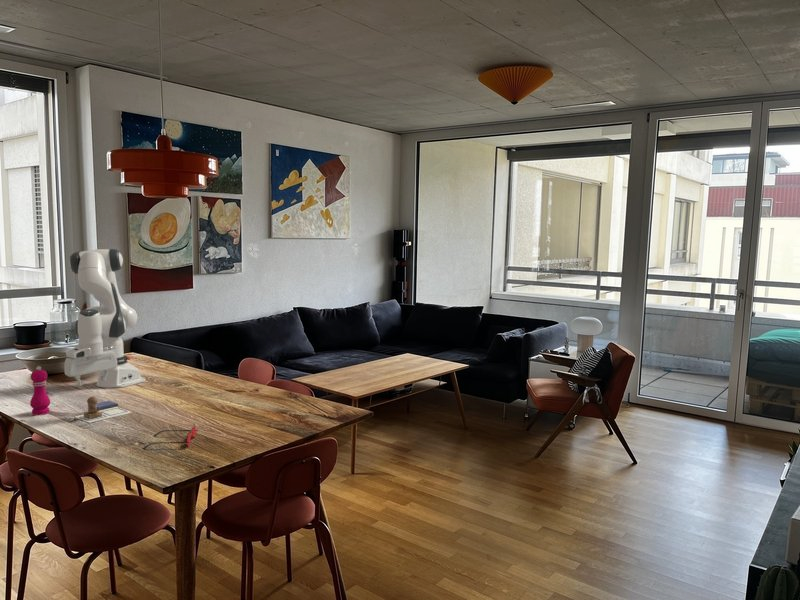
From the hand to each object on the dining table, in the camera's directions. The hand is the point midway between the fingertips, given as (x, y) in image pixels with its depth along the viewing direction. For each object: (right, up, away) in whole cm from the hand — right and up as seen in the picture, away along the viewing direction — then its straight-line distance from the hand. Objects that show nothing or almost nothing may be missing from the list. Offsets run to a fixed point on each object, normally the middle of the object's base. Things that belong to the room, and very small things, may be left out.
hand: (92, 382), depth 247 cm
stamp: (0, -14, +1) cm, 14 cm away
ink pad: (-3, -13, +16) cm, 21 cm away
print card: (+2, -14, +5) cm, 15 cm away
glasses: (+41, -19, -24) cm, 52 cm away
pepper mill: (-24, -14, +6) cm, 29 cm away
